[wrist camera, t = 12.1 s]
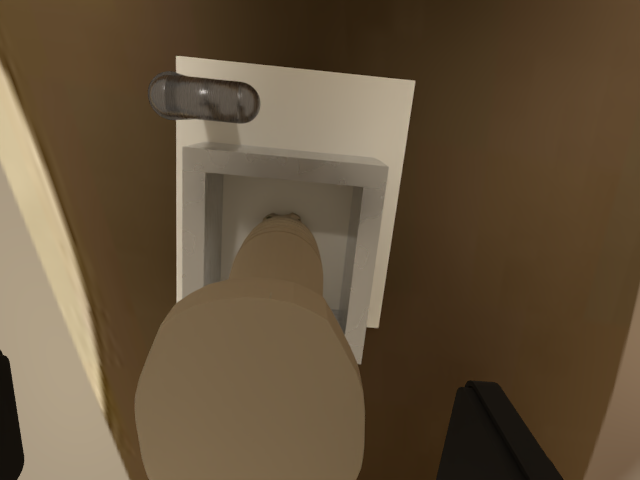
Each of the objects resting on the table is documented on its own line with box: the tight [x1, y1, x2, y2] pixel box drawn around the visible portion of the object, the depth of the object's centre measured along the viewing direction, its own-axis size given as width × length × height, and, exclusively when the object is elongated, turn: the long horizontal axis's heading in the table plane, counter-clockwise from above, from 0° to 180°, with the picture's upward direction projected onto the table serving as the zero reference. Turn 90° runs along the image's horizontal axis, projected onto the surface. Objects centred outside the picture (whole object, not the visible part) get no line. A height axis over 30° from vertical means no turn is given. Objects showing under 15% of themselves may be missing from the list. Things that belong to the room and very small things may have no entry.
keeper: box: [148, 56, 415, 364], centre depth 20 cm, size 14×12×9 cm
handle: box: [135, 212, 365, 480], centre depth 16 cm, size 5×6×15 cm
